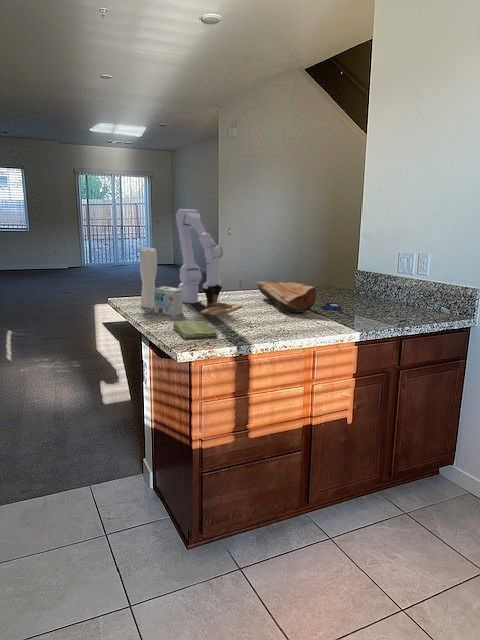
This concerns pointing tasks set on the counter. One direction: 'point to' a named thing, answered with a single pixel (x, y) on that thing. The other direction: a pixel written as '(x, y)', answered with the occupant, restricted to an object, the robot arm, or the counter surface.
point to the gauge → (217, 303)
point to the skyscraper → (148, 276)
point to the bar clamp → (333, 307)
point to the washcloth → (194, 330)
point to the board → (220, 309)
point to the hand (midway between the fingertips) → (212, 302)
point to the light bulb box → (168, 301)
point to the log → (289, 295)
